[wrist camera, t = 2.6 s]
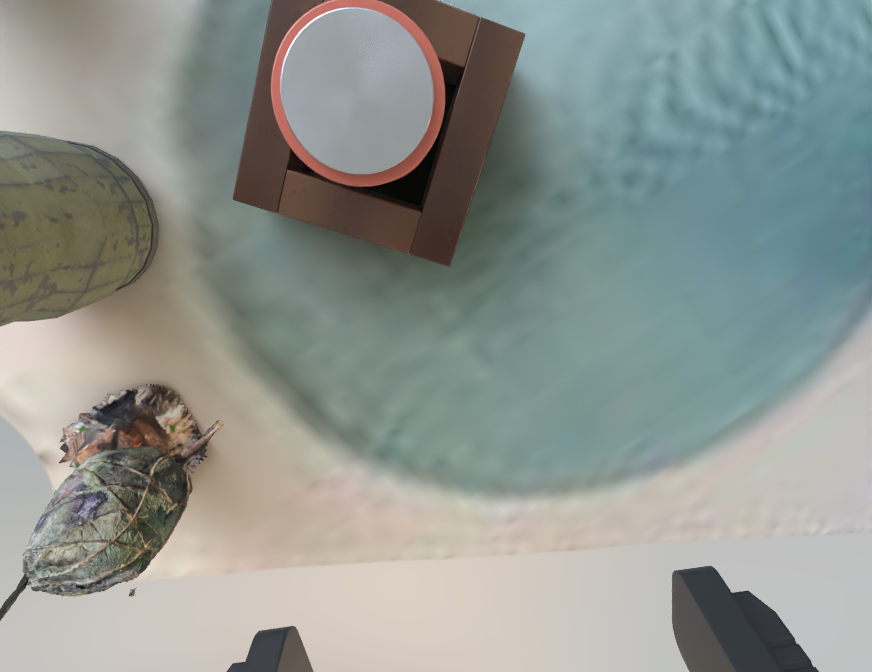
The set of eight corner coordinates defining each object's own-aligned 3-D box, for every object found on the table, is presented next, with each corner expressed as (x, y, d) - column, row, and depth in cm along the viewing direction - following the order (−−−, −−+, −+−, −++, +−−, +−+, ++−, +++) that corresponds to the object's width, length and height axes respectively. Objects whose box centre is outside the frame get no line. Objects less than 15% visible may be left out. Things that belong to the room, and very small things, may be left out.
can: (444, 92, 28) (469, 29, 16) (414, 195, 30) (416, 209, 18) (342, 56, 28) (289, -38, 16) (317, 163, 29) (250, 155, 17)
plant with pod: (254, 479, 35) (69, 839, 16) (90, 502, 35) (-290, 890, 16) (224, 370, 33) (-35, 642, 14) (48, 395, 33) (-459, 702, 14)
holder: (506, 57, 28) (525, 33, 23) (444, 253, 31) (450, 267, 26) (305, -17, 27) (282, -59, 22) (260, 195, 30) (231, 199, 25)
